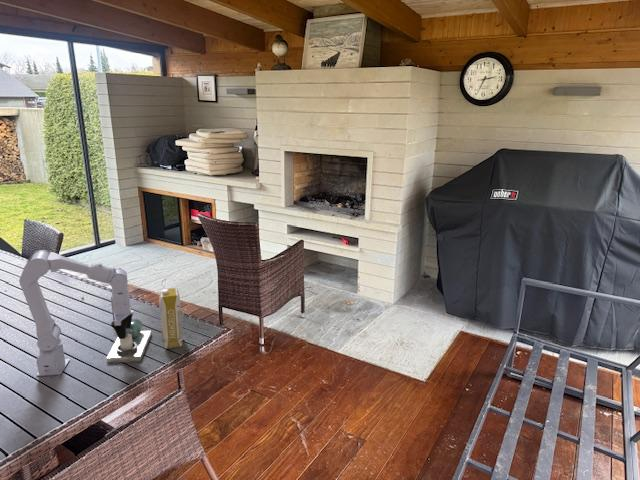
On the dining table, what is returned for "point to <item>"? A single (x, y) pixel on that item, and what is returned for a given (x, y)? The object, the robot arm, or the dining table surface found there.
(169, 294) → the juice carton
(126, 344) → the cream capsule cylinder
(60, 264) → the robot arm
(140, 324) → the motor mount
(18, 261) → the dining table surface
